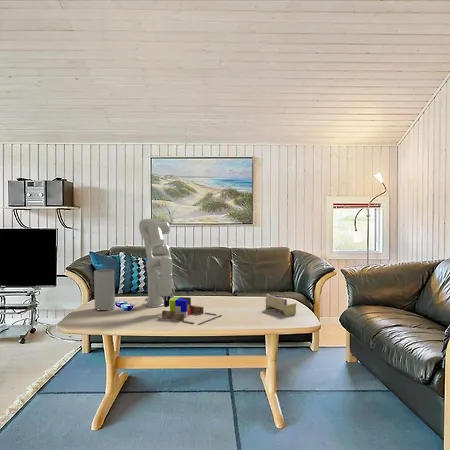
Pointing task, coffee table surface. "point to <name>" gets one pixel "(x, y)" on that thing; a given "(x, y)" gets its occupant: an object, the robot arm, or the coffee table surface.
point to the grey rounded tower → (104, 289)
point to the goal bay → (204, 321)
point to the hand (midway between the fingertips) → (166, 306)
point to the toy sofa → (280, 304)
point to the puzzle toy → (181, 305)
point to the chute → (180, 315)
